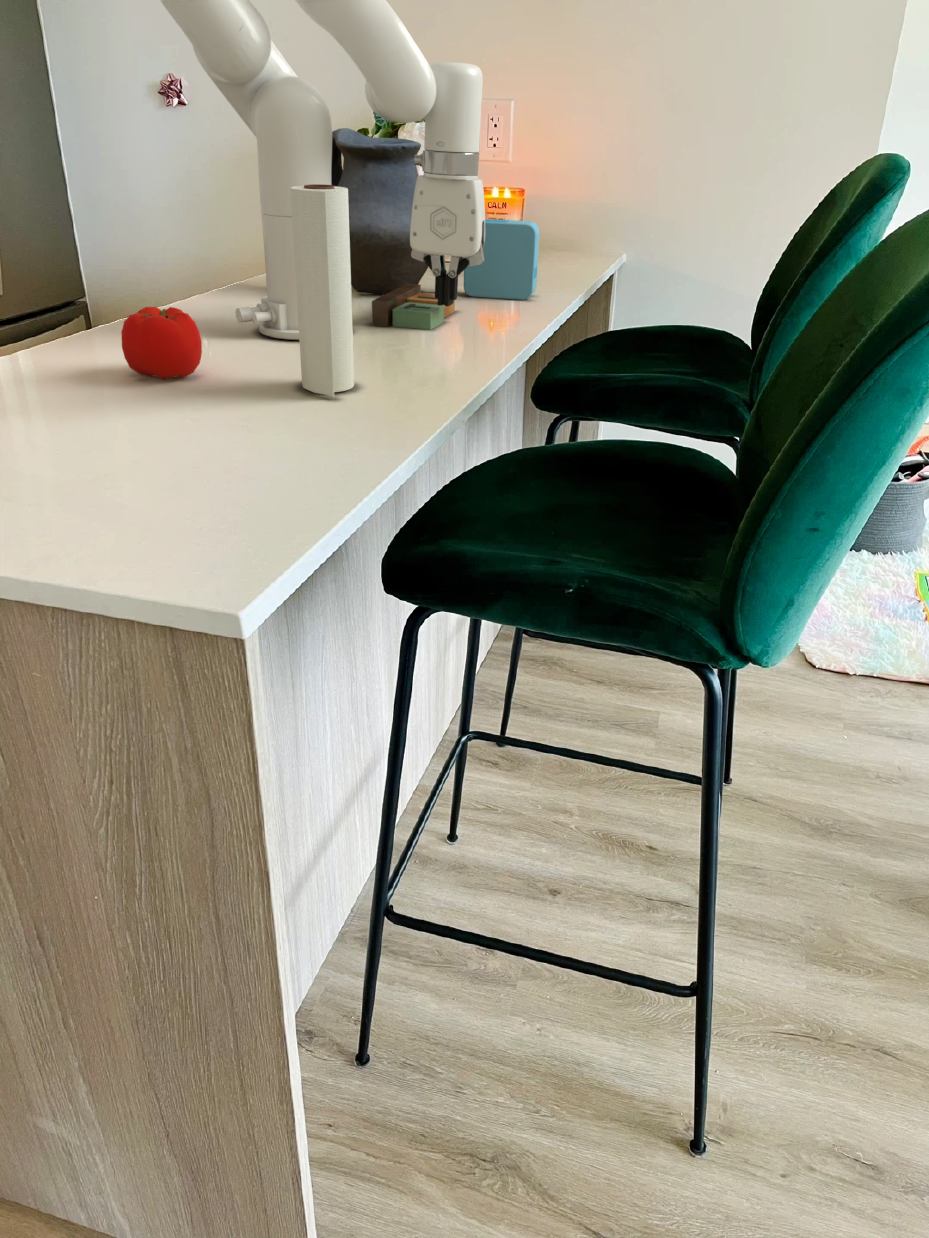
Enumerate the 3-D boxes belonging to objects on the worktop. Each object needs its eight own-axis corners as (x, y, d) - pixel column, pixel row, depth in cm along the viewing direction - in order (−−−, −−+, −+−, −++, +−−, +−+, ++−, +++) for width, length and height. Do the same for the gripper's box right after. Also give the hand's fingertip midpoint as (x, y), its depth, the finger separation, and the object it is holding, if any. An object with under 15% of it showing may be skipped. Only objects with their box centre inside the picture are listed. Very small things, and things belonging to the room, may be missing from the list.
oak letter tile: (443, 318, 145) (443, 301, 144) (406, 315, 147) (406, 298, 146) (454, 311, 150) (455, 294, 149) (419, 308, 152) (419, 291, 151)
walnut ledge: (387, 326, 139) (387, 302, 138) (372, 325, 140) (371, 301, 138) (420, 307, 153) (420, 284, 151) (406, 306, 153) (406, 283, 152)
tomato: (167, 389, 107) (159, 321, 104) (111, 377, 111) (101, 312, 108) (223, 372, 115) (217, 308, 111) (169, 361, 118) (161, 299, 115)
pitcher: (396, 306, 153) (394, 133, 141) (293, 291, 163) (283, 128, 151) (463, 288, 168) (466, 131, 156) (365, 275, 178) (361, 127, 166)
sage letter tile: (430, 330, 138) (430, 312, 137) (392, 326, 140) (392, 308, 139) (444, 322, 143) (444, 304, 142) (407, 319, 145) (406, 301, 144)
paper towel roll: (318, 378, 113) (308, 182, 103) (363, 384, 111) (357, 185, 101) (286, 393, 107) (273, 186, 97) (334, 399, 105) (325, 190, 95)
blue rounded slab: (536, 296, 164) (540, 221, 158) (532, 300, 160) (536, 224, 154) (468, 292, 166) (470, 218, 160) (462, 296, 162) (464, 221, 156)
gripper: (390, 163, 128) (389, 303, 137) (497, 171, 125) (488, 314, 134) (408, 161, 135) (405, 295, 143) (510, 169, 132) (500, 305, 140)
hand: (445, 304), depth 139 cm, fingers closed
